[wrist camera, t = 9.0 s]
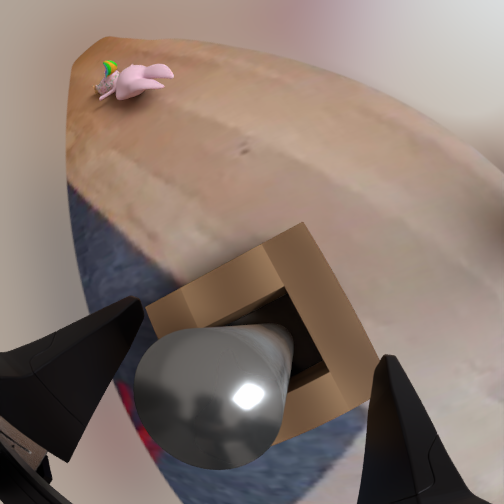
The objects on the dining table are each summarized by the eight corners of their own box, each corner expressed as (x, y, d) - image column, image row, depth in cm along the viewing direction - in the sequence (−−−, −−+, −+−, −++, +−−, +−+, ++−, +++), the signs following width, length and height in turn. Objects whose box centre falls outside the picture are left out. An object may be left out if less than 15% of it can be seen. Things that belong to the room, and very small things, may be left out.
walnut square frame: (237, 435, 16) (222, 461, 12) (174, 310, 18) (145, 307, 15) (372, 372, 15) (391, 385, 11) (302, 242, 18) (302, 221, 14)
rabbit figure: (96, 109, 29) (156, 115, 22) (70, 84, 23) (122, 73, 17) (125, 78, 29) (195, 74, 23) (102, 51, 24) (169, 32, 18)
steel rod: (260, 375, 16) (176, 480, 4) (239, 335, 17) (113, 359, 5) (302, 355, 16) (310, 441, 4) (280, 314, 17) (236, 300, 5)
